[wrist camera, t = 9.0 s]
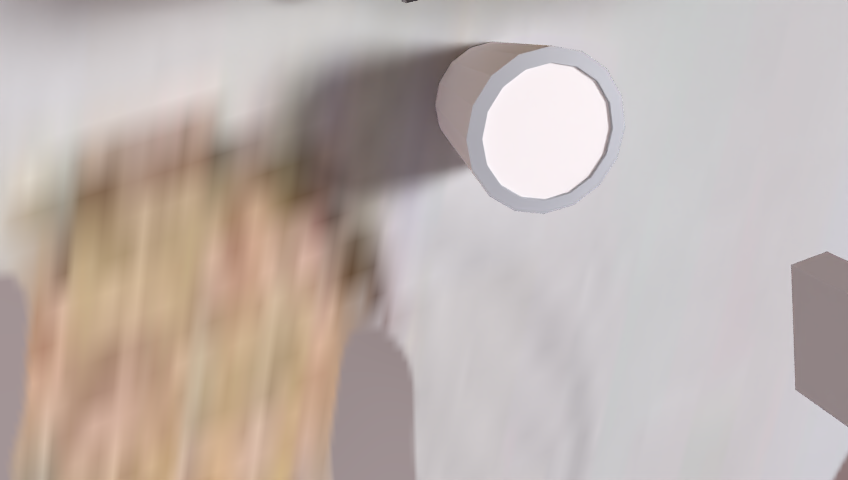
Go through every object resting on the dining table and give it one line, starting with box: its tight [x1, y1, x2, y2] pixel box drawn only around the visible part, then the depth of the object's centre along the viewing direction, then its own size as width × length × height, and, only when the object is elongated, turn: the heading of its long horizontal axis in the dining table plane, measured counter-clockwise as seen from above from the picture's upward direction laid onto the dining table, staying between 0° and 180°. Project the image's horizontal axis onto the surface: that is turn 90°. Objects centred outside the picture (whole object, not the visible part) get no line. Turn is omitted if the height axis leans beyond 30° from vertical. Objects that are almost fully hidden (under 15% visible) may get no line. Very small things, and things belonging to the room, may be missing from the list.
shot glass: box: [435, 42, 625, 214], centre depth 34 cm, size 7×7×7 cm
